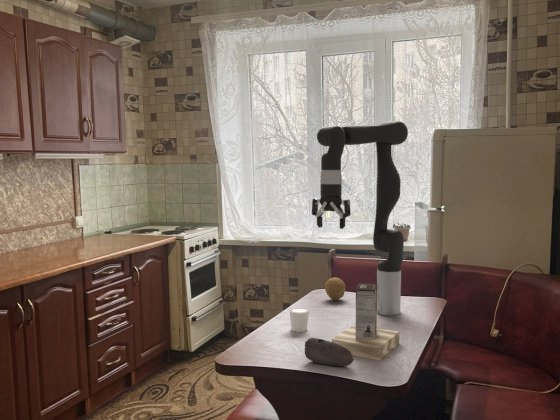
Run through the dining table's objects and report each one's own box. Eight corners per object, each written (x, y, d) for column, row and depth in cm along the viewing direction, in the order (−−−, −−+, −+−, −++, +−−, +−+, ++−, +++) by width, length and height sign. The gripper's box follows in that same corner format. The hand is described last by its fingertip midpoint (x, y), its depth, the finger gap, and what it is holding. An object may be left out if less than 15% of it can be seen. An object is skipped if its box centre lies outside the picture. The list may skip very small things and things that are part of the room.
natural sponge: (328, 296, 247) (328, 274, 246) (348, 298, 243) (348, 276, 242) (322, 301, 238) (322, 278, 237) (342, 303, 235) (342, 280, 234)
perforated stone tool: (356, 366, 163) (356, 343, 162) (349, 372, 158) (349, 348, 158) (311, 357, 171) (311, 335, 170) (303, 362, 166) (303, 339, 166)
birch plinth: (354, 335, 191) (354, 324, 191) (399, 343, 183) (399, 331, 182) (331, 351, 176) (331, 338, 175) (379, 360, 167) (379, 347, 167)
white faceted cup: (312, 329, 199) (312, 310, 198) (300, 333, 194) (300, 314, 193) (298, 325, 203) (298, 306, 203) (285, 329, 198) (285, 310, 198)
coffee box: (357, 330, 184) (357, 282, 183) (377, 331, 183) (377, 283, 181) (355, 338, 175) (355, 288, 174) (375, 340, 174) (376, 289, 172)
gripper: (353, 182, 197) (353, 228, 199) (317, 182, 205) (317, 225, 206) (345, 183, 191) (344, 230, 192) (308, 182, 198) (308, 227, 200)
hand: (330, 227), depth 199 cm, fingers open, 8 cm apart
